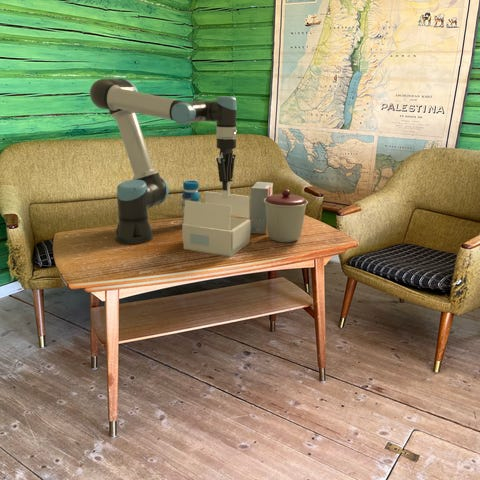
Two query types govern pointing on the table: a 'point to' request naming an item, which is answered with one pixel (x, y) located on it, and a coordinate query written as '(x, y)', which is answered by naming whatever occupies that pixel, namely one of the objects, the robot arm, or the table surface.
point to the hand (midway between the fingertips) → (226, 197)
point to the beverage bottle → (190, 193)
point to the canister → (285, 216)
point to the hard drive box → (259, 206)
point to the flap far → (230, 203)
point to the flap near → (207, 215)
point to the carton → (217, 238)
